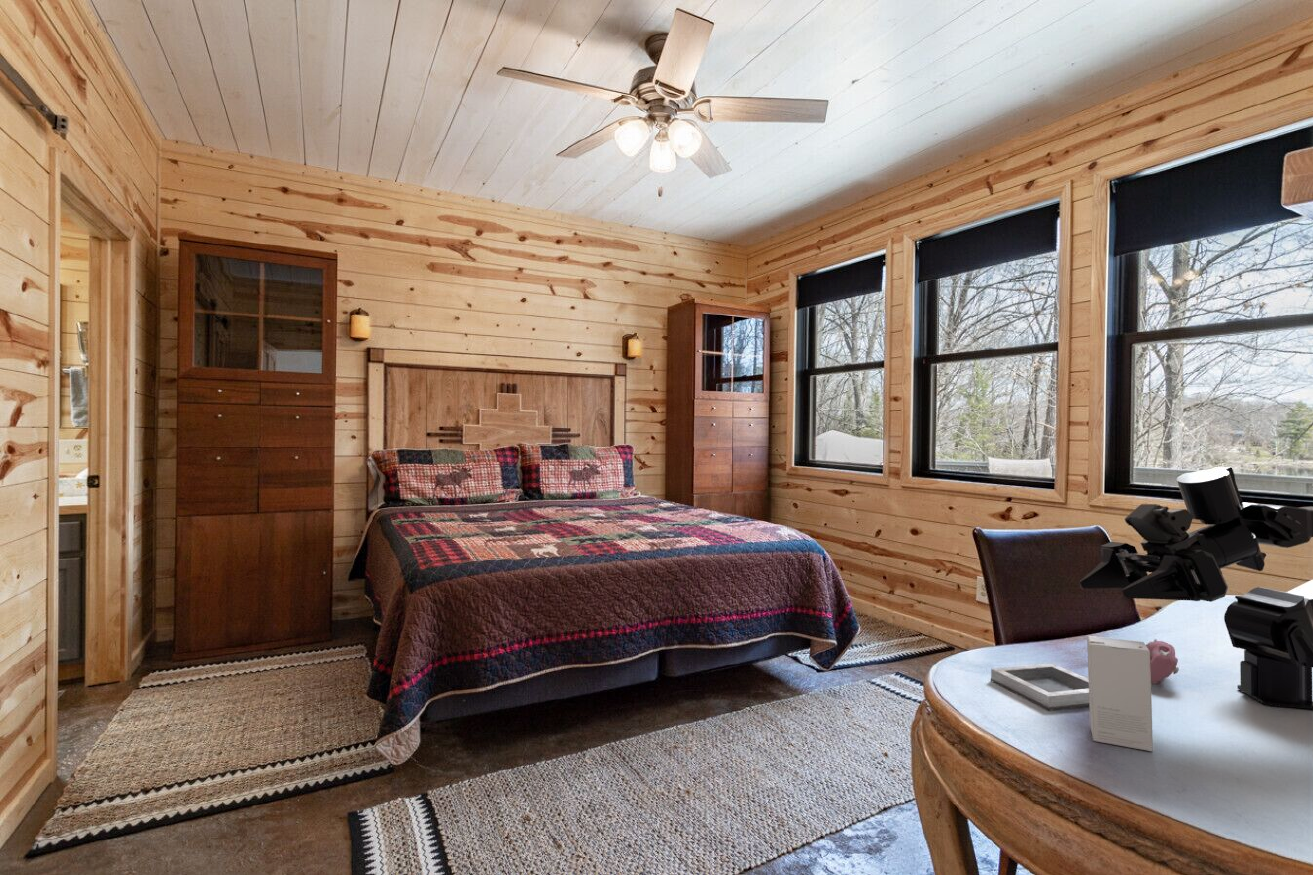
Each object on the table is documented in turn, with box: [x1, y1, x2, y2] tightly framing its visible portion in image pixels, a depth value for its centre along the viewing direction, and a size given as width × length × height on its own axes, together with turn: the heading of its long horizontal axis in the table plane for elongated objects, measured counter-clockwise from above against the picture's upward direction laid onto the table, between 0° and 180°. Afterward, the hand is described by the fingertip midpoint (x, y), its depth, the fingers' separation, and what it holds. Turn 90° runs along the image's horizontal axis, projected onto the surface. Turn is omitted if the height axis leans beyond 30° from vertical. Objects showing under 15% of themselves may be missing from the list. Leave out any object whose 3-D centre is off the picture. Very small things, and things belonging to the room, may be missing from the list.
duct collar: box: [990, 663, 1089, 712], centre depth 93 cm, size 11×11×2 cm
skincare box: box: [1086, 635, 1154, 752], centre depth 78 cm, size 6×4×12 cm
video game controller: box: [1145, 639, 1180, 685], centre depth 98 cm, size 10×5×7 cm, turn 148°
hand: (1100, 589), depth 89 cm, fingers open, 9 cm apart
